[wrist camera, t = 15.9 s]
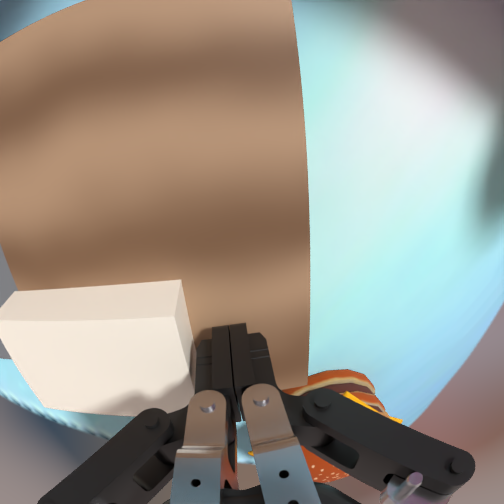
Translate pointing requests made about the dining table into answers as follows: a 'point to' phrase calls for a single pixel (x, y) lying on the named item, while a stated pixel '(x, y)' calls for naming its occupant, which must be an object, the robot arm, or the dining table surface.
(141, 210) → the walnut board
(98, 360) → the cream card box
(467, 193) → the dining table surface
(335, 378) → the hamburger
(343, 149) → the dining table surface
